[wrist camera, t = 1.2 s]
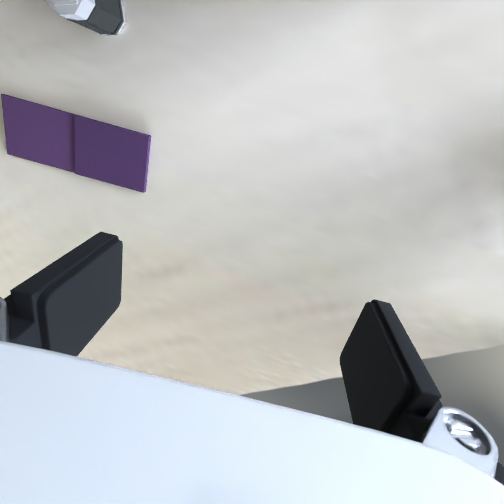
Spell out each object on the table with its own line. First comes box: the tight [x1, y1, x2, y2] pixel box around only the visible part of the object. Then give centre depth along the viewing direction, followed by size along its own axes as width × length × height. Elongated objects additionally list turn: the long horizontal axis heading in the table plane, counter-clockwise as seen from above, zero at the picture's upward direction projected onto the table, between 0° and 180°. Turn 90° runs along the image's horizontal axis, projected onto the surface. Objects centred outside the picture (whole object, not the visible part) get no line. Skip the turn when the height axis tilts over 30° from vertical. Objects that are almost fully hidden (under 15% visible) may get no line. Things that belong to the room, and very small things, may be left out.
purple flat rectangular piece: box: [1, 94, 151, 193], centre depth 36 cm, size 7×18×1 cm, turn 76°
